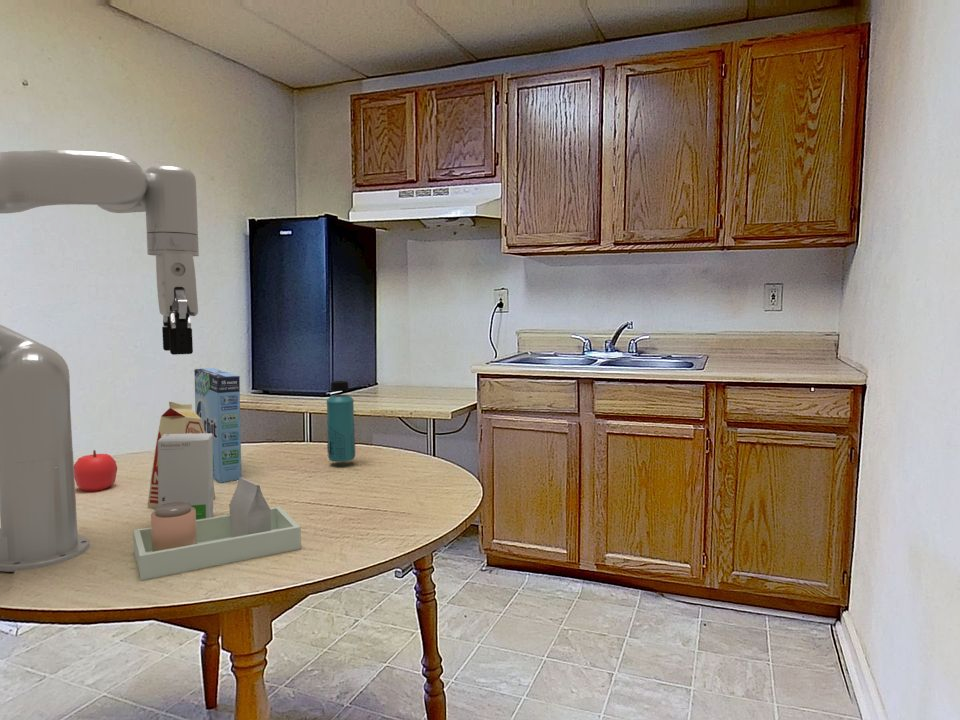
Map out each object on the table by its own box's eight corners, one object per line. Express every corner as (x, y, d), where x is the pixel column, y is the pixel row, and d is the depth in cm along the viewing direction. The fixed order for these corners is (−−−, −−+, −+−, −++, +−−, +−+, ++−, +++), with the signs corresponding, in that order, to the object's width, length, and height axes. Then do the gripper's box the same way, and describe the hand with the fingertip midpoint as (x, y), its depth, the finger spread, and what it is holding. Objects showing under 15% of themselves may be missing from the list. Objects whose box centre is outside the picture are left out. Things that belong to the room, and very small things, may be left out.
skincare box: (158, 533, 109) (153, 441, 108) (165, 520, 116) (161, 433, 114) (211, 528, 112) (208, 438, 110) (216, 516, 118) (212, 431, 117)
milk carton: (189, 511, 121) (185, 404, 119) (145, 508, 123) (140, 402, 121) (218, 497, 130) (214, 397, 128) (177, 494, 132) (173, 395, 130)
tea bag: (248, 552, 99) (246, 488, 98) (230, 540, 104) (228, 479, 103) (271, 546, 102) (269, 483, 101) (253, 535, 107) (251, 475, 106)
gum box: (196, 465, 155) (192, 369, 153) (219, 462, 158) (215, 367, 156) (219, 483, 139) (215, 376, 137) (243, 479, 142) (240, 375, 140)
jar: (155, 569, 93) (152, 516, 92) (150, 555, 98) (148, 504, 98) (200, 560, 96) (198, 508, 96) (194, 547, 101) (192, 498, 101)
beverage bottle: (361, 463, 156) (360, 380, 154) (341, 469, 151) (340, 383, 149) (341, 460, 160) (339, 378, 158) (321, 465, 154) (319, 381, 152)
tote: (141, 584, 90) (139, 556, 89) (134, 555, 100) (133, 530, 99) (301, 552, 101) (300, 527, 101) (280, 529, 111) (279, 506, 111)
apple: (64, 491, 133) (62, 453, 133) (98, 481, 141) (96, 445, 140) (93, 495, 131) (91, 456, 130) (127, 485, 138) (125, 447, 138)
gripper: (207, 243, 100) (211, 354, 102) (190, 250, 115) (194, 348, 116) (152, 241, 96) (157, 356, 98) (142, 248, 111) (147, 349, 113)
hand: (177, 352), depth 107 cm, fingers open, 9 cm apart
